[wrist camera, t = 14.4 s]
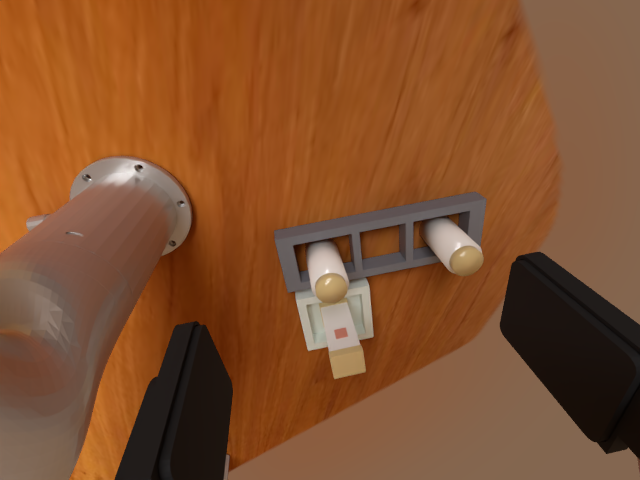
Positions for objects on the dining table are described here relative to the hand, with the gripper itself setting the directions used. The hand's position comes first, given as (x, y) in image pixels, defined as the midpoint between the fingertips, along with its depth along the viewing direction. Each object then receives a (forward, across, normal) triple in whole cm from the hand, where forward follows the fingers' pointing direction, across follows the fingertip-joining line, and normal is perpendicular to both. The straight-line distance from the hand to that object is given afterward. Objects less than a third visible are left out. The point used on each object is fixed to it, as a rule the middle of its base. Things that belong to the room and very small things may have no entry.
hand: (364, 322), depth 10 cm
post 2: (+30, -16, +16) cm, 38 cm away
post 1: (+30, 0, +16) cm, 35 cm away
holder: (+30, -8, +16) cm, 36 cm away
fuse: (+30, -1, +28) cm, 41 cm away
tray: (+30, -1, +28) cm, 41 cm away
